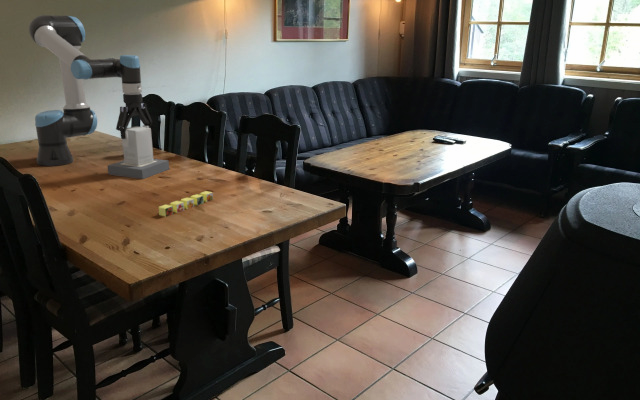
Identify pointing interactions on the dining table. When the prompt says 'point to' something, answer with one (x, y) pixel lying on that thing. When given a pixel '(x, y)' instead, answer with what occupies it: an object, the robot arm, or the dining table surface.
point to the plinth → (138, 169)
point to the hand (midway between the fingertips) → (136, 143)
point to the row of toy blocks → (185, 203)
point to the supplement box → (138, 146)
